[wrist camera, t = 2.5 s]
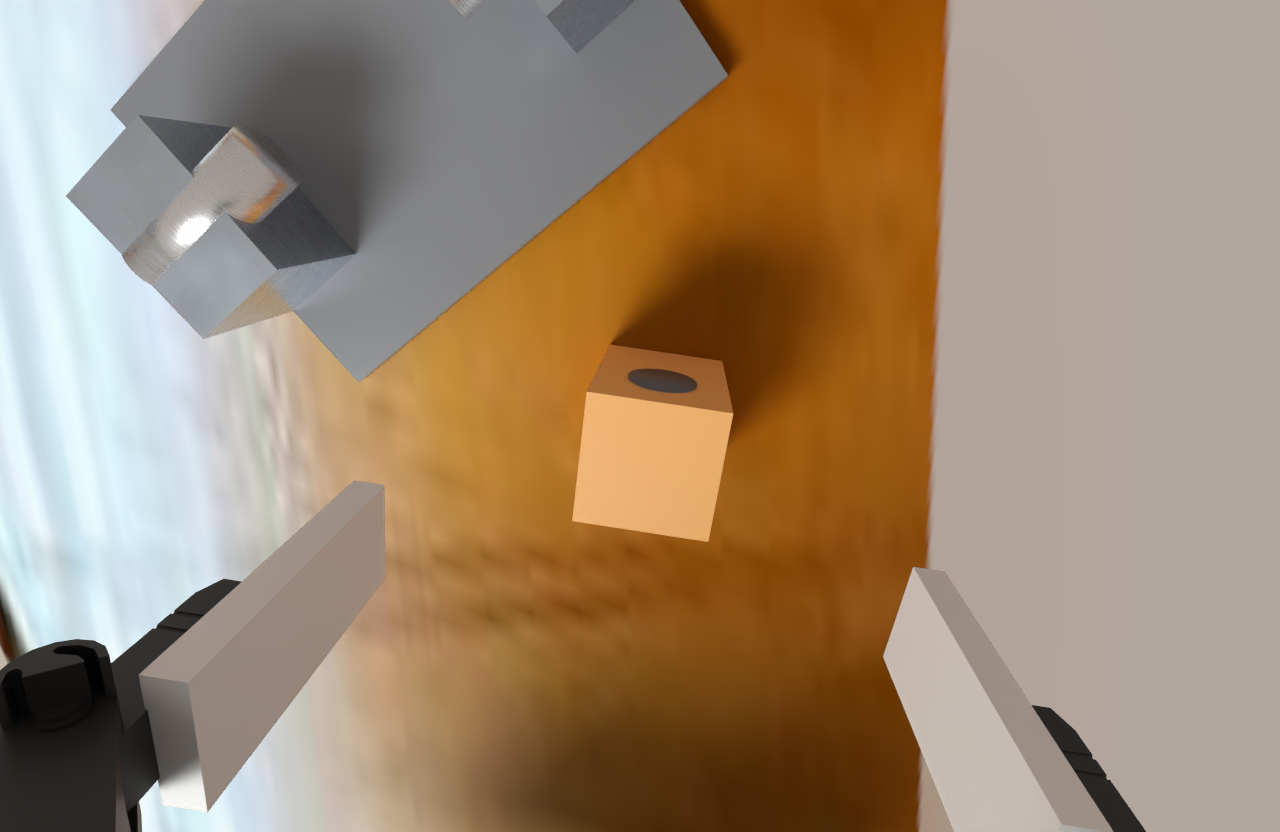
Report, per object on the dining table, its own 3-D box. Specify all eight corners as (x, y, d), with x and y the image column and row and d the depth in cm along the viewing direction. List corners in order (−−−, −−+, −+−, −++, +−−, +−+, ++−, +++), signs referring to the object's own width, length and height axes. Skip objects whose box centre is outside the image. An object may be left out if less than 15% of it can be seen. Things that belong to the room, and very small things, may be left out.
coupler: (722, 358, 28) (734, 410, 22) (702, 465, 30) (707, 544, 23) (610, 341, 28) (586, 388, 22) (597, 449, 30) (572, 523, 23)
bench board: (726, 78, 24) (728, 75, 24) (366, 377, 29) (358, 382, 29) (483, -296, 21) (476, -314, 20) (126, 112, 26) (110, 110, 25)
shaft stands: (663, -25, 23) (656, -91, 17) (293, 310, 28) (199, 340, 22) (555, -191, 21) (512, -318, 16) (187, 194, 26) (60, 196, 21)
